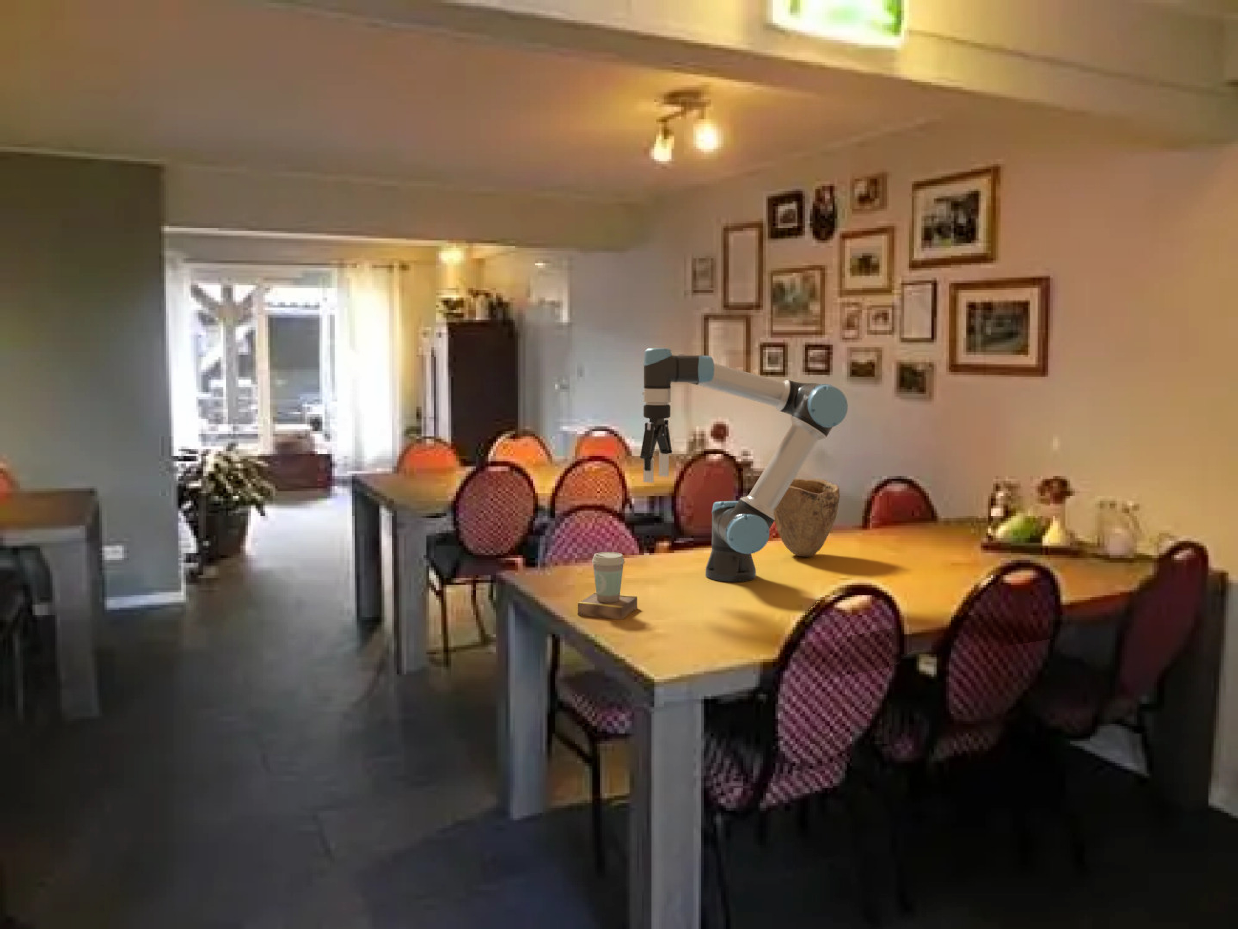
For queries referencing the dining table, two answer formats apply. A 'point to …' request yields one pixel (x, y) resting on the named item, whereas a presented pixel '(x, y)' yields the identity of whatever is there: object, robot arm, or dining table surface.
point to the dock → (607, 607)
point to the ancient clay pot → (807, 515)
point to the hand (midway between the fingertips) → (656, 479)
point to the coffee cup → (608, 575)
